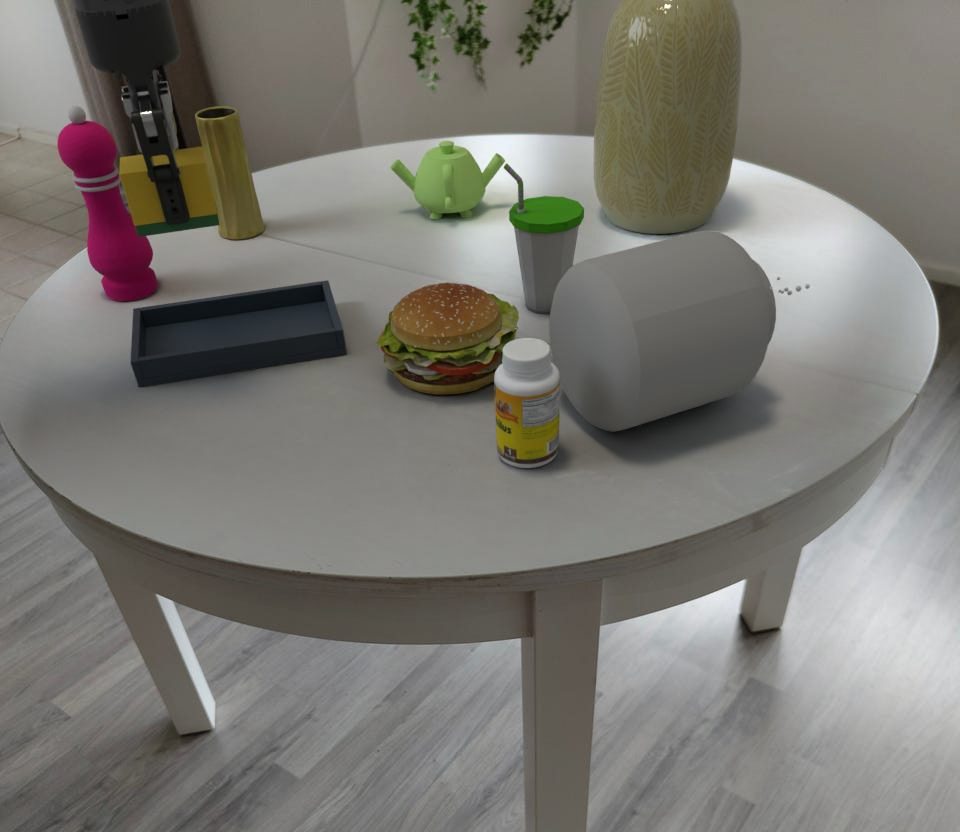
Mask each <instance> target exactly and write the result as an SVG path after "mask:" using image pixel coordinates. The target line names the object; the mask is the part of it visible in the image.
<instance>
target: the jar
mask: <svg viewBox="0 0 960 832" xmlns="http://www.w3.org/2000/svg"><path fill="white" fill-rule="evenodd" d="M776 280H777V281H780V280H781V277H780V276H777V277H776ZM804 288H805V289H806V290H807V289H810V288H811V286H810V284H809V283H806V284H805V286H804ZM795 291H796V292H801V291H802V286H801V285H797V286H796V287H795ZM785 292H787V293H786V294H787V295H788V296H791V295H793V291H792V290H791V289H789V287H787V286H785V288H784V290H782V289H778V293H779V294H782V295H784V294H785ZM776 321H777V306H776V297H775V293H774V289H773V286H772V284H771V281H770V279H769V277H768V275H767V273H766V272H765V270H764V268H762V266H761V265H760V264H759V263H758V262H757V261H756V260H755V259H753V258H752V256H750V254H749V252H748V251H746V248H744V247H743V246H742V245H741V244H739V242H737V241H736V240H735V239H734V238H731V237H730V236H728V235H726V234H724V233H722V232H720V231H715V230H699V231H694V232H690V233H687V234H682V235H679V236H675V237H674V236H673V237H671V238H670V237H669V238H666V239H663V240H658V241H655V242H652V243H651V242H650V243H647V244H643V245H639V246H635V247H631V248H627V249H624V250H619V251H615V252H612V253H608V254H604V255H600V256H596V257H592V258H588V259H585V260H582V261H580V262H577V263H575V264H573V266H572V267H571V268H569V269H568V271H567V272H566V273H565V275H564V276H563V277H562V279H561V280H560V282H559V283H558V285H557V288H556V290H555V293H554V297H553V302H552V306H551V312H550V313H549V322H548V324H549V325H548V327H549V328H548V329H549V331H548V332H549V343H550V352H551V356H552V361H553V364H554V365H555V366H556V367H557V368H558V370H559V373H560V386H561V387H562V389H563V391H564V394H565V395H566V397H567V399H568V400H569V402H570V403H571V405H572V406H573V407H574V408H575V410H576V411H577V412H578V413H579V414H580V416H581V417H582V418H583V419H584V420H585V421H587V422H588V423H589V424H590V425H592V426H594V427H596V428H598V429H600V430H603V431H606V432H619V431H624V430H628V429H631V428H634V427H636V426H638V427H639V426H641V425H644V424H647V423H650V422H653V421H657V420H659V419H663V418H666V417H669V416H672V415H675V414H679V413H681V412H685V411H687V410H688V411H689V410H691V409H694V408H698V407H701V406H704V405H706V404H711V403H713V402H716V401H719V400H722V399H726V398H729V397H732V396H734V395H736V394H738V393H739V392H741V391H743V390H744V389H745V388H747V387H748V386H749V385H750V383H751V382H752V381H753V380H754V379H755V377H756V376H757V374H758V373H759V371H760V368H761V367H762V364H763V363H764V360H765V356H766V354H767V350H768V346H769V344H770V342H771V341H772V338H773V335H774V332H775V327H776Z"/></svg>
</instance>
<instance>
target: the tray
mask: <svg viewBox="0 0 960 832" xmlns="http://www.w3.org/2000/svg"><path fill="white" fill-rule="evenodd" d="M131 326H132V327H131V328H132V329H131V344H130V345H131V346H130V365H131V368H132V369H131V370H132V371H133V375H134V377H135V381H136V383H137V386H138V388H142V387H147V386H148V387H149V386H155V385H161V384H166V383H172V382H178V381H185V380H193V379H197V378H205V377H211V376H217V375H218V376H219V375H223V374H230V373H237V372H243V371H249V370H250V371H251V370H256V369H262V368H268V367H274V366H281V365H287V364H293V363H294V364H295V363H300V362H307V361H313V360H314V361H315V360H319V359H326V358H331V357H332V358H333V357H337V356H338V357H339V356H344V355H345V356H346V355H347V354H348V353H347V347H346V340H345V334H344V328H343V325H342V322H341V318H340V315H339V312H338V308H337V305H336V301H335V298H334V295H333V291H332V289H331V285H330V282H329V280H328V279H325V280H320V281H312V282H306V283H299V284H292V285H287V286H285V285H284V286H279V287H273V288H265V289H259V290H251V291H246V292H244V291H243V292H237V293H230V294H225V295H217V296H210V297H204V298H196V299H190V300H183V301H177V302H176V301H175V302H168V303H162V304H156V305H147V306H142V307H135V308H133V309H132V324H131Z"/></svg>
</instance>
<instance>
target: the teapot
mask: <svg viewBox="0 0 960 832" xmlns="http://www.w3.org/2000/svg"><path fill="white" fill-rule="evenodd" d="M438 145H439V146H436V147H432V148H431V149H429V150H427V151H426V152H425V154H424V155H423V157H422V158H421V161H420V163H419V165H418V168H417V170H416V172H415V175H414V174H413V173H412V172H411V171H410V170H409V169H408V168H407V166H406V165H405V164H404V163H403V162H402V161H401V160H400V159H396V160H395V161H394V162H393V163H392V164H391V166H390V170H391V171H393V173H394V174H396V176H397V177H398V178H399V179H400V180H401V181H403V183H404V184H405V185H406V186H407V187H408V188H409V189H410V190H411V191H412V192H413V196H414V199H415V201H416V202H417V203H418V204H419V205H420V206H421V207H422V208H423V209H424V210H426V211H427V212H430V214H429V216H428V218H429V219H431V220H440V219H442V218H443V214H454V213H459V216H460V217H461V218H471V217H473V216H474V214H473V212H472V210H471V209H474V208H475V207H477V205H479V204H480V202H481V201H482V199H483V198H484V196H485V194H486V188H487V186H488V185H489V184H490V183H491V181H492V179H493V178H494V177H495V176H496V175H497V173H498V172H499V170H500V169H501V168H502V166H503V165H505V163H506V159H505V158H504V157H503V156H502V155H501V154H499V153H497V152H496V153H495V154H494V155H493V157H492V158H491V160H490V161H489V162H488V164H487V166H486V167H485V168H484V170H483V171H482V169H481V168H480V165H479V164H478V162H477V161H476V159H475V158H474V156H473V154H472V153H471V151H470V150H469V149H467V148H466V147H465V146H460V145H455V142H454V141H453V140H452V141H451V140H443V141H440V142H439V143H438Z"/></svg>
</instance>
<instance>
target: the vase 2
mask: <svg viewBox="0 0 960 832" xmlns="http://www.w3.org/2000/svg"><path fill="white" fill-rule="evenodd" d="M742 54H743V39H742V25H741V20H740V15H739V12H738V9H737V6H736V4H735V2H734V0H620V1H619V2H618V4H617V6H616V8H615V10H614V12H613V14H612V15H611V18H610V21H609V23H608V26H607V30H606V35H605V38H604V42H603V48H602V54H601V59H600V65H599V66H600V67H599V71H598V72H599V74H598V80H597V82H598V83H597V91H596V102H595V115H594V127H593V128H594V129H593V183H594V189H595V194H596V197H597V200H598V202H599V204H600V206H601V210H602V211H603V213H604V215H605V217H606V219H607V220H608V221H609V222H610V223H611V224H612V225H614V226H616V227H618V228H620V229H623V230H626V231H631V232H634V233H639V234H648V235H669V234H676V233H678V234H679V233H682V232H683V233H684V232H687V231H691V230H693V229H697V228H699V227H701V226H702V225H704V224H705V223H707V222H708V221H709V220H710V219H711V217H712V215H713V214H714V212H715V211H716V209H717V208H718V206H719V205H720V203H721V201H722V199H723V197H724V195H725V193H726V191H727V188H728V185H729V181H730V177H731V172H732V166H733V161H734V152H735V147H736V140H737V134H738V133H737V131H738V123H739V112H740V104H741V103H740V102H741V101H740V100H741V87H742V72H743V71H742V70H743V69H742V67H743V65H742V64H743V55H742Z"/></svg>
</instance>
